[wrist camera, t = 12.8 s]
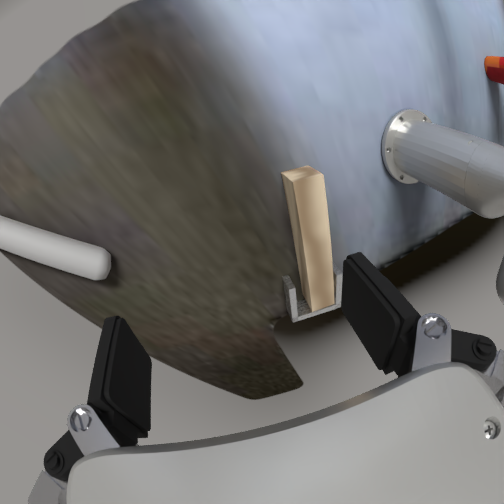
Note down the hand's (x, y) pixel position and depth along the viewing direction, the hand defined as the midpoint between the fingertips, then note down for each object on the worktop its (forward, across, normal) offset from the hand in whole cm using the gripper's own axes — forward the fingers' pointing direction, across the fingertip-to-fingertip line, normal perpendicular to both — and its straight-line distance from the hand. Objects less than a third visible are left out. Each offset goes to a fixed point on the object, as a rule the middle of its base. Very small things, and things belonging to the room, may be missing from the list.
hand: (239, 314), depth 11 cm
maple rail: (+27, -12, +14) cm, 32 cm away
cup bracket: (+26, -12, +23) cm, 37 cm away
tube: (+27, +27, +2) cm, 38 cm away
